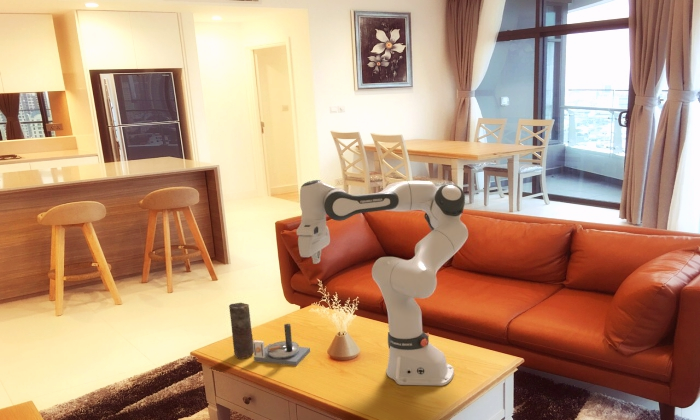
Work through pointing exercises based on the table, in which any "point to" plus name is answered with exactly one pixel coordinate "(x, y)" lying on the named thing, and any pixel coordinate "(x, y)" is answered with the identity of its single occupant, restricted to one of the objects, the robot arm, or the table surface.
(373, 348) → the table surface
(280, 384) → the table surface
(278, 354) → the grey disc with rod
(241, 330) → the candle
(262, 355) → the stand
